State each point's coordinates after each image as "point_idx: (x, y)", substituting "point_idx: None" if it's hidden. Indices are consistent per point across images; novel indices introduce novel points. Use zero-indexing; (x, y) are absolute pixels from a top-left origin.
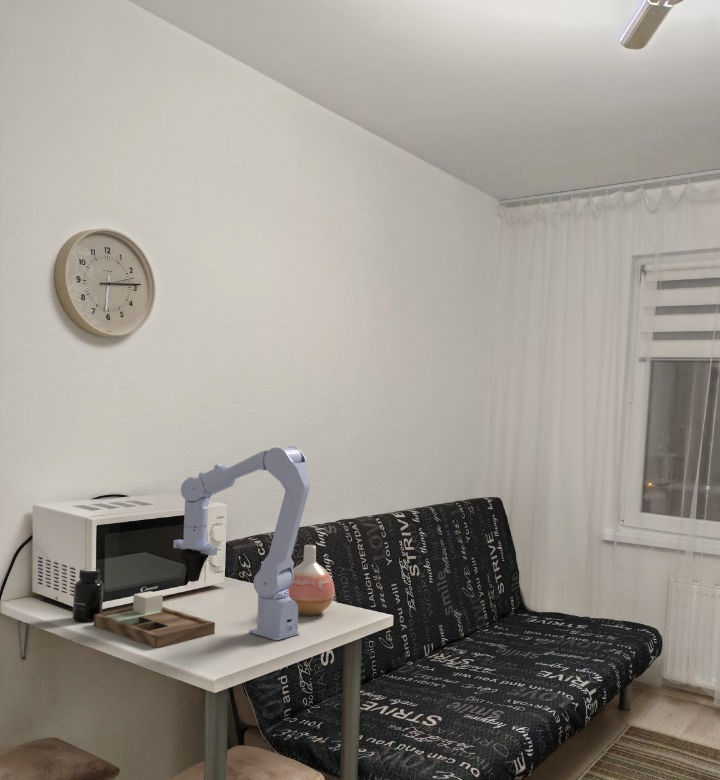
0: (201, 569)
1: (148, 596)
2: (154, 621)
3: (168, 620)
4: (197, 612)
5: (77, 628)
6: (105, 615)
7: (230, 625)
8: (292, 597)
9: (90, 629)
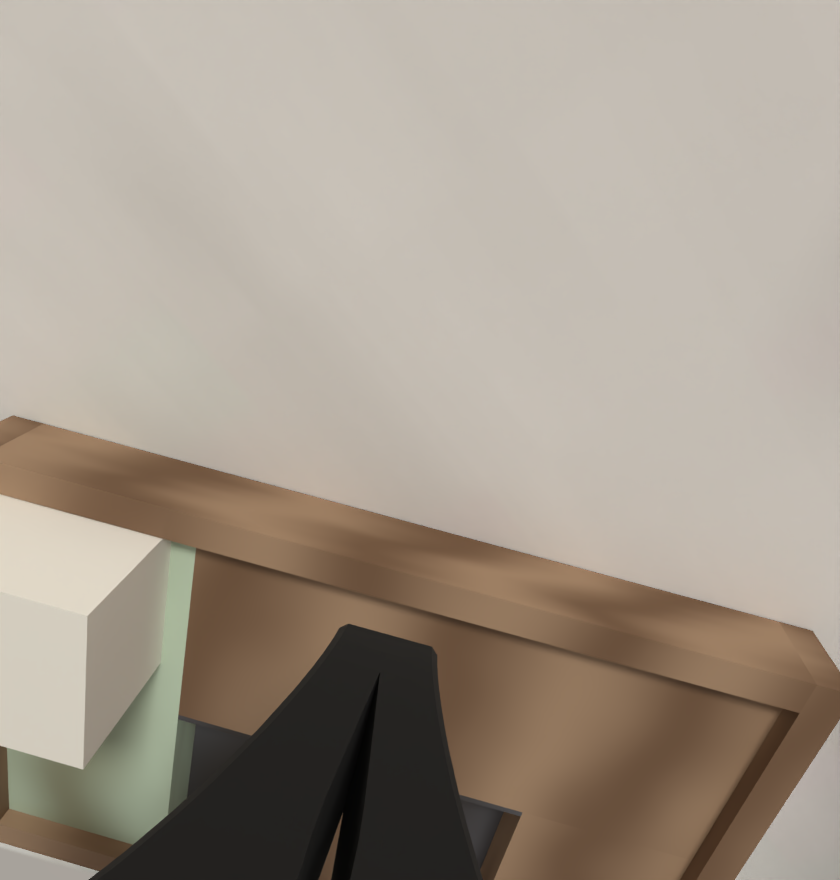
0: (464, 826)
1: (52, 722)
2: None
3: None
4: (279, 147)
5: None
6: (5, 784)
7: (837, 372)
8: None
9: None
